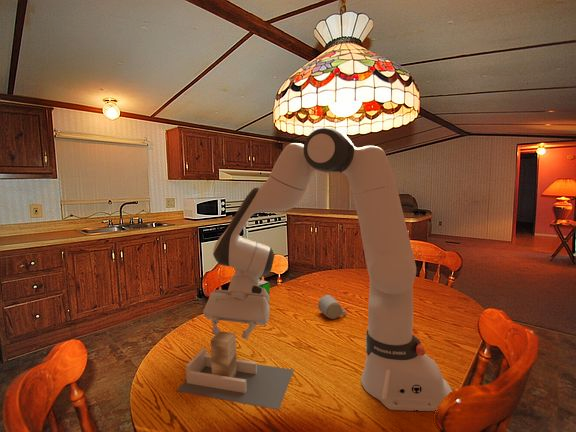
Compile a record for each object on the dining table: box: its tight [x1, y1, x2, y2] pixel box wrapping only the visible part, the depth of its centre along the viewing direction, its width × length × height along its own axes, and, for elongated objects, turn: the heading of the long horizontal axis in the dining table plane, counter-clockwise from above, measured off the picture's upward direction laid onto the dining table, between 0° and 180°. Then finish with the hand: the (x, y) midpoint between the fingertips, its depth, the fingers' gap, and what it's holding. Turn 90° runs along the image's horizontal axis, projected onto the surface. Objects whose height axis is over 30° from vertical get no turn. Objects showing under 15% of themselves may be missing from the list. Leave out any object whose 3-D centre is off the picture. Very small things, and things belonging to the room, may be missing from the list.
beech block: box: [210, 330, 237, 378], centre depth 83 cm, size 5×5×12 cm
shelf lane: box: [175, 347, 295, 410], centre depth 83 cm, size 28×16×6 cm, turn 76°
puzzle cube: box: [258, 278, 271, 304], centre depth 137 cm, size 10×10×10 cm
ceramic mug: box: [317, 294, 347, 320], centre depth 124 cm, size 11×8×8 cm
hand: (229, 336), depth 87 cm, fingers open, 8 cm apart
